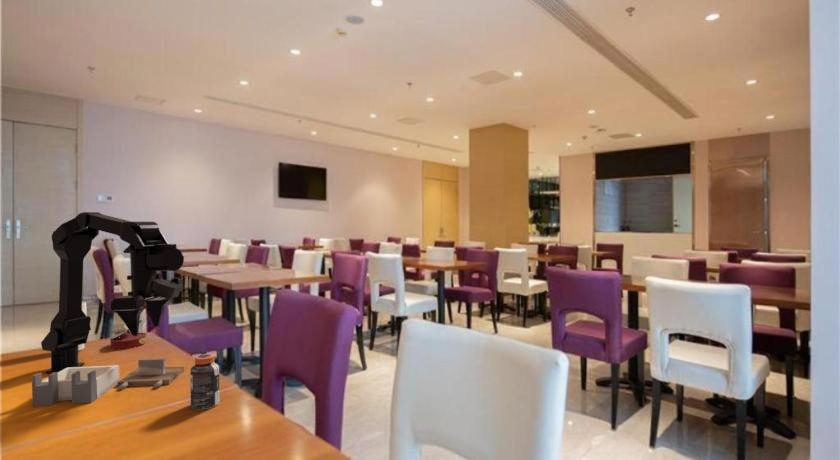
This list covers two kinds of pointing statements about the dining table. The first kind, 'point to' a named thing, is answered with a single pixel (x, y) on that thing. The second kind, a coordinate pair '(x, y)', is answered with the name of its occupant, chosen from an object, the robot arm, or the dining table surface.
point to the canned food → (128, 340)
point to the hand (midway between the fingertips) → (146, 330)
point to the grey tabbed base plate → (151, 374)
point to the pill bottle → (204, 382)
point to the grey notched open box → (74, 384)
